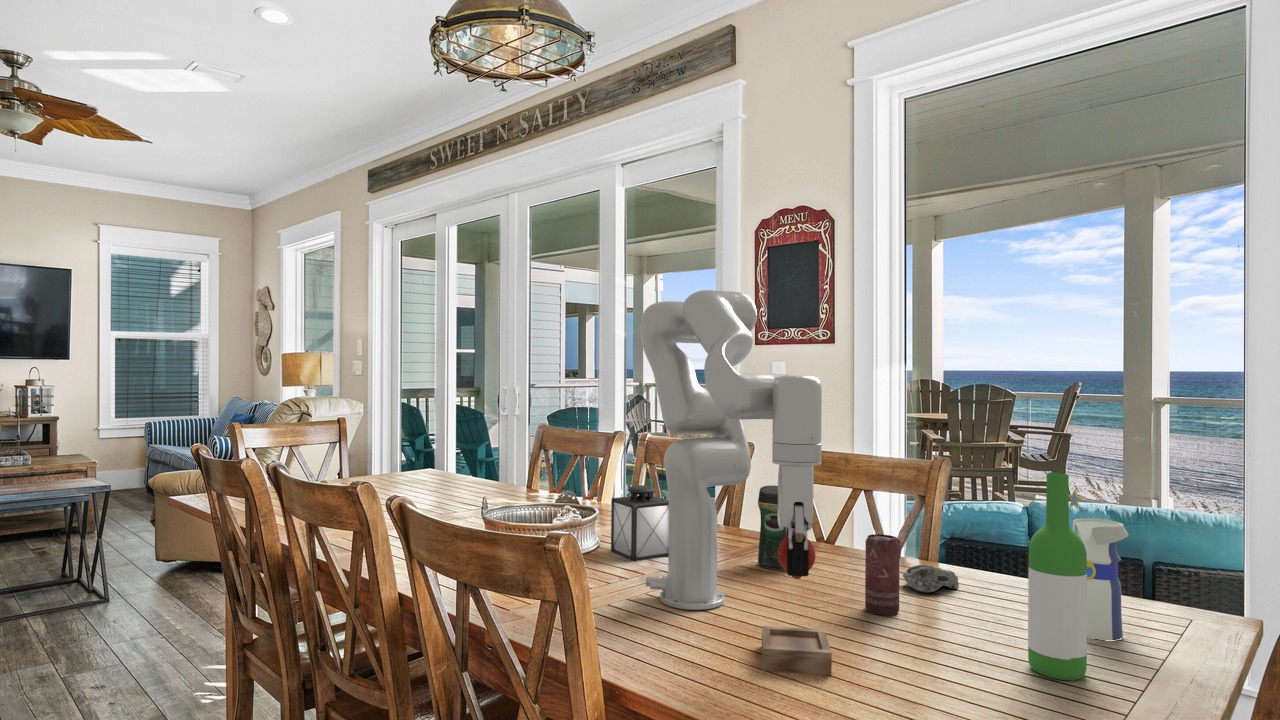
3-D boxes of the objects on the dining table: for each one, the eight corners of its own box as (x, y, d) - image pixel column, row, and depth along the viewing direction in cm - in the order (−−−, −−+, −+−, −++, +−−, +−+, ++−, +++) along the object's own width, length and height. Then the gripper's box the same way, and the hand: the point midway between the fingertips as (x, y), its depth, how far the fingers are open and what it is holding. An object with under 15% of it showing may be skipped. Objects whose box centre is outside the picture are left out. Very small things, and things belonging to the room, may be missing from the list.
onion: (773, 574, 119) (773, 523, 119) (808, 573, 119) (808, 523, 119) (783, 584, 113) (783, 531, 113) (820, 583, 113) (820, 531, 113)
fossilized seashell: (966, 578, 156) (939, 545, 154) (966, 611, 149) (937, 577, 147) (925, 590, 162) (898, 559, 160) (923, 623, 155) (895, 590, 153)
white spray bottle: (1108, 645, 123) (1109, 495, 124) (1059, 629, 131) (1059, 487, 131) (1137, 638, 127) (1137, 492, 128) (1087, 622, 135) (1087, 484, 135)
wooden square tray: (763, 670, 112) (763, 648, 112) (761, 646, 121) (762, 625, 122) (831, 675, 110) (831, 652, 110) (824, 650, 120) (824, 629, 120)
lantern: (610, 551, 184) (611, 438, 184) (649, 546, 190) (649, 436, 190) (632, 562, 174) (633, 442, 174) (672, 556, 180) (673, 440, 180)
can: (902, 617, 136) (903, 541, 137) (866, 615, 138) (867, 539, 138) (898, 607, 142) (898, 534, 143) (863, 605, 144) (864, 532, 144)
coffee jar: (804, 565, 172) (805, 485, 173) (794, 573, 165) (795, 490, 166) (764, 560, 177) (765, 482, 177) (753, 567, 170) (754, 486, 170)
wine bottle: (1099, 680, 109) (1100, 476, 110) (1054, 684, 108) (1054, 477, 108) (1059, 660, 117) (1060, 469, 117) (1016, 663, 115) (1017, 470, 116)
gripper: (770, 448, 125) (770, 555, 125) (774, 459, 108) (773, 584, 108) (816, 449, 124) (815, 557, 124) (827, 461, 107) (826, 586, 107)
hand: (796, 568), depth 116 cm, fingers closed on onion, 5 cm apart
